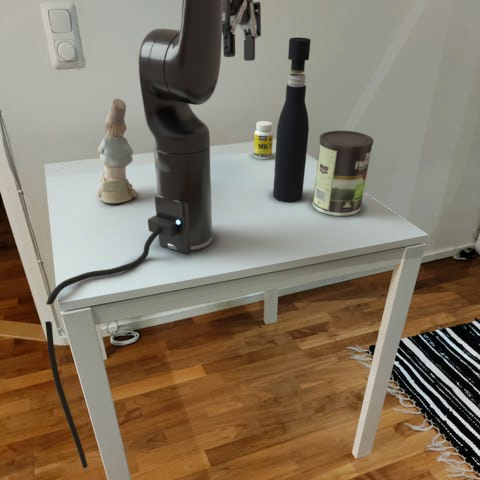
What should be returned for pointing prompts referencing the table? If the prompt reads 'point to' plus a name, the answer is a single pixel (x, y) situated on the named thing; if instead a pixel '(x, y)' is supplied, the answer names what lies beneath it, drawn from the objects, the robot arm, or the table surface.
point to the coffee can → (341, 172)
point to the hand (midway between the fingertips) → (239, 58)
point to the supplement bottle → (263, 140)
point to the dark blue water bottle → (292, 128)
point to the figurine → (115, 157)
